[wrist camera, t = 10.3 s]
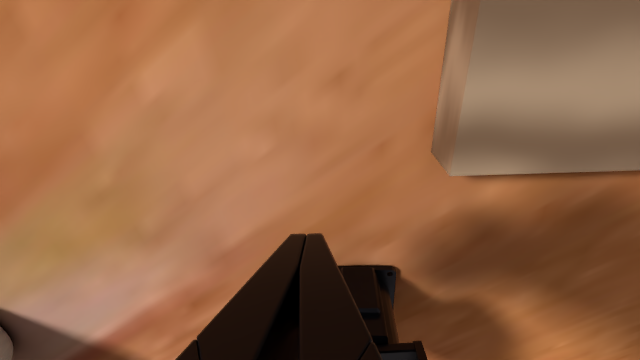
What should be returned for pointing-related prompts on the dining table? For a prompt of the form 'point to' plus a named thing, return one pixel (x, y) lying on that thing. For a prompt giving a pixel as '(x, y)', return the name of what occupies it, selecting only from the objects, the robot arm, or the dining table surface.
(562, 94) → the walnut board
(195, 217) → the dining table surface
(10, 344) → the canister
